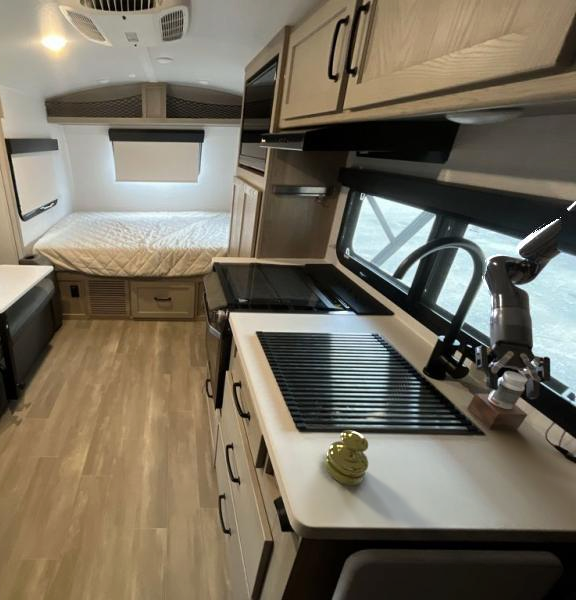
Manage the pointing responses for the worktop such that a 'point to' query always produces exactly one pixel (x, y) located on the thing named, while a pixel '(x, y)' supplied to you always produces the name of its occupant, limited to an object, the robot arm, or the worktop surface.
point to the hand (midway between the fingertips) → (512, 393)
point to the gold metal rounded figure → (348, 458)
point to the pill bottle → (508, 390)
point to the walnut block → (496, 413)
